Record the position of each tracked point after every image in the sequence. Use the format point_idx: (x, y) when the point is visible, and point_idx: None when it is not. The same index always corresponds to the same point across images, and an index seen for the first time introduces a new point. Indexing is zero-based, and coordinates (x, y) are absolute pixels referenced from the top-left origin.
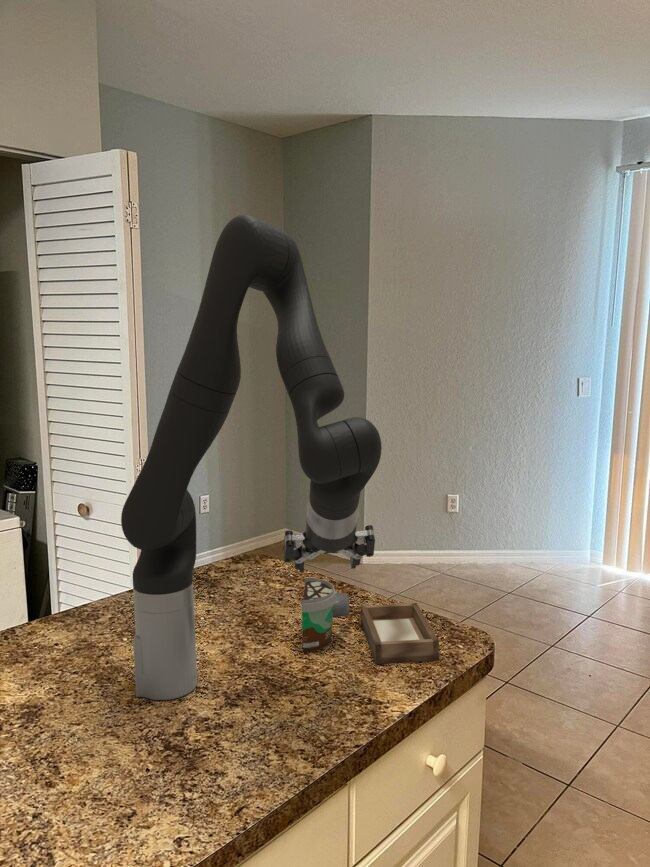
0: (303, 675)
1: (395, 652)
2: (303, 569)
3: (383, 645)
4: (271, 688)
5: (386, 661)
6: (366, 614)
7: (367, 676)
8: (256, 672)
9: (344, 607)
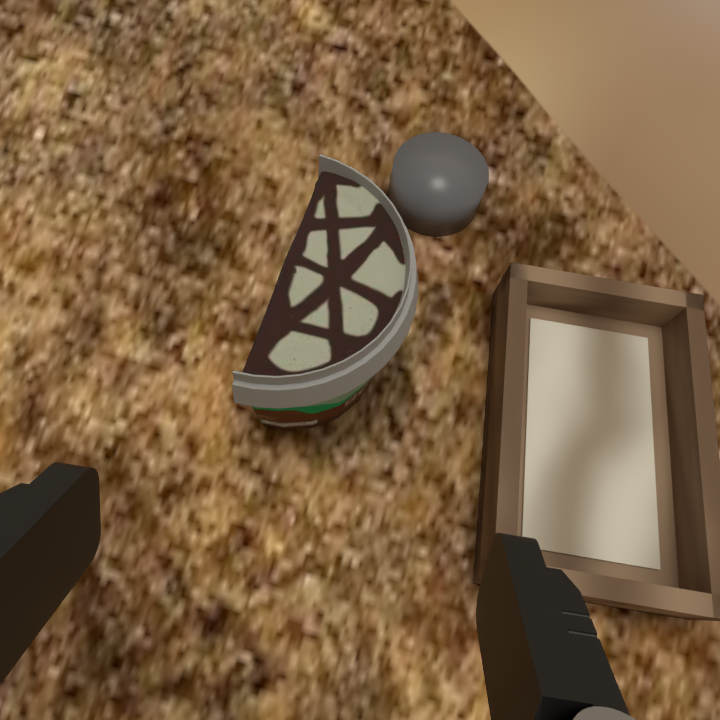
0: (214, 592)
1: None
2: (62, 595)
3: None
4: (79, 657)
5: None
6: (514, 328)
7: (423, 665)
8: None
9: (461, 216)
